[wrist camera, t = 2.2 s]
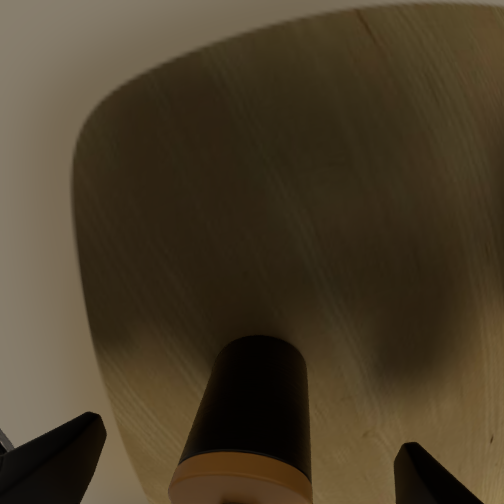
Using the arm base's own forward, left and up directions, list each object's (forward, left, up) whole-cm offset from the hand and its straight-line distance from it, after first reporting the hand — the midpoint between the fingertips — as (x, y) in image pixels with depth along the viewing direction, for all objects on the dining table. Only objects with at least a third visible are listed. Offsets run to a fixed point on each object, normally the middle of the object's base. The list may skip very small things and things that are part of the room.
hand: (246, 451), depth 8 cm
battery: (0, 0, -4) cm, 4 cm away
